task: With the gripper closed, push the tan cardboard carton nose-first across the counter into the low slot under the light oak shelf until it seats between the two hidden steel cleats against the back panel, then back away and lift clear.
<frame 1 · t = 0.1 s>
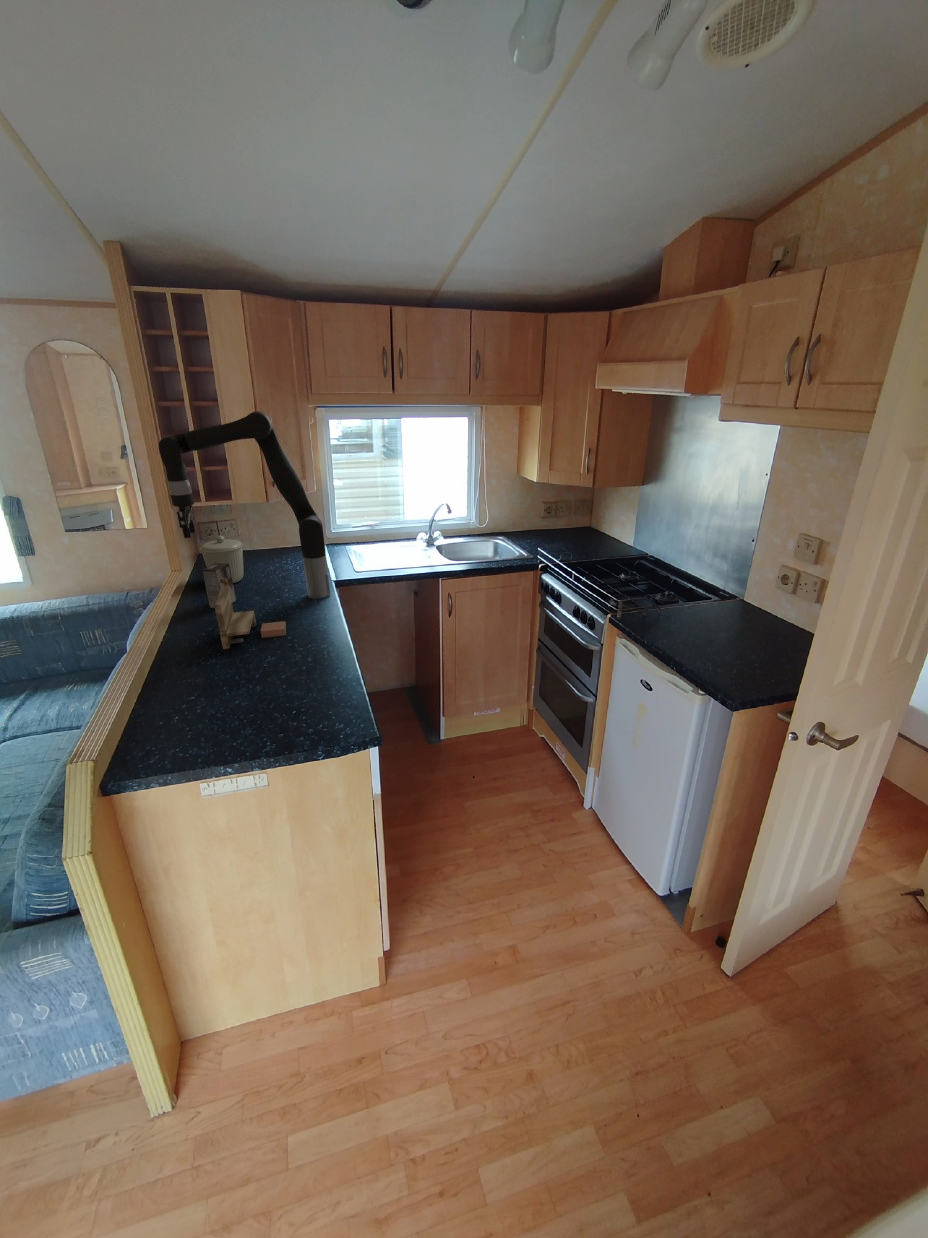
hand: (190, 535, 213), 29 cm above the worktop, fingers open, 8 cm apart
coffee box: (223, 604, 226), on the worktop
tan cardboard carton: (274, 632, 200), on the worktop
nook: (247, 635, 198), on the worktop
canister: (228, 581, 253), on the worktop
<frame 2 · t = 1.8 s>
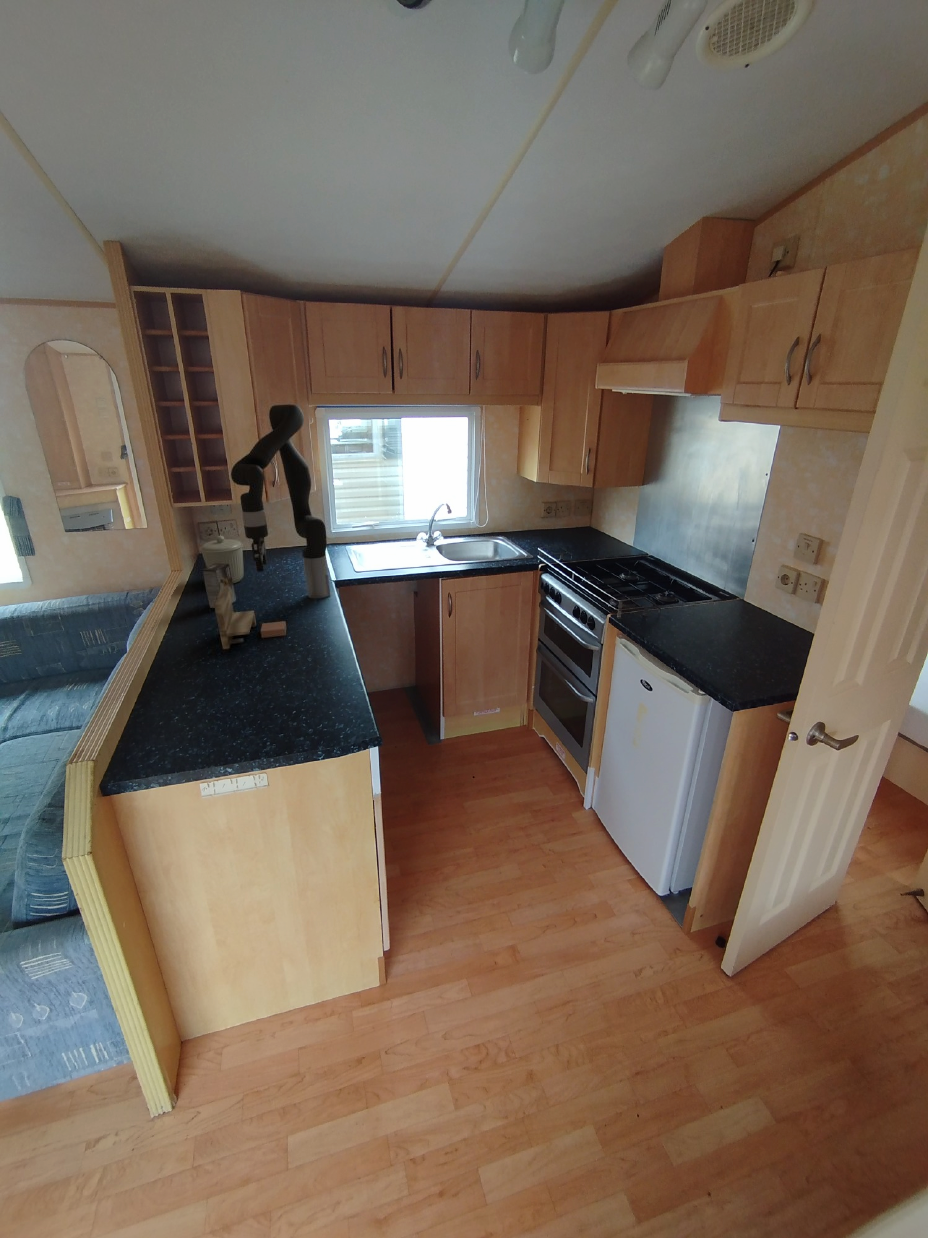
hand: (262, 567, 200), 21 cm above the worktop, fingers open, 8 cm apart
nothing on the worktop moved.
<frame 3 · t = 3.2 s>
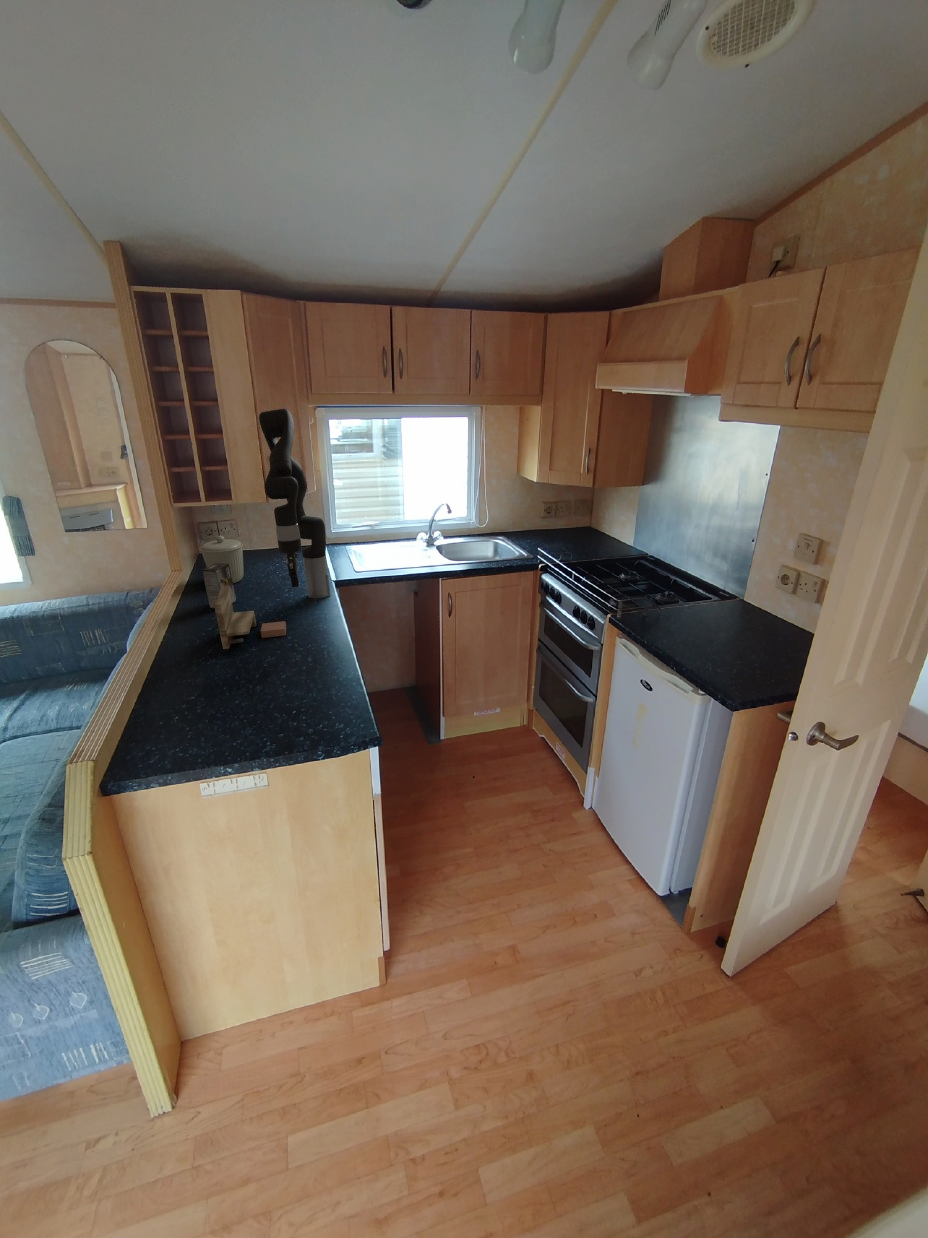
hand: (295, 585, 195), 17 cm above the worktop, fingers closed
nothing on the worktop moved.
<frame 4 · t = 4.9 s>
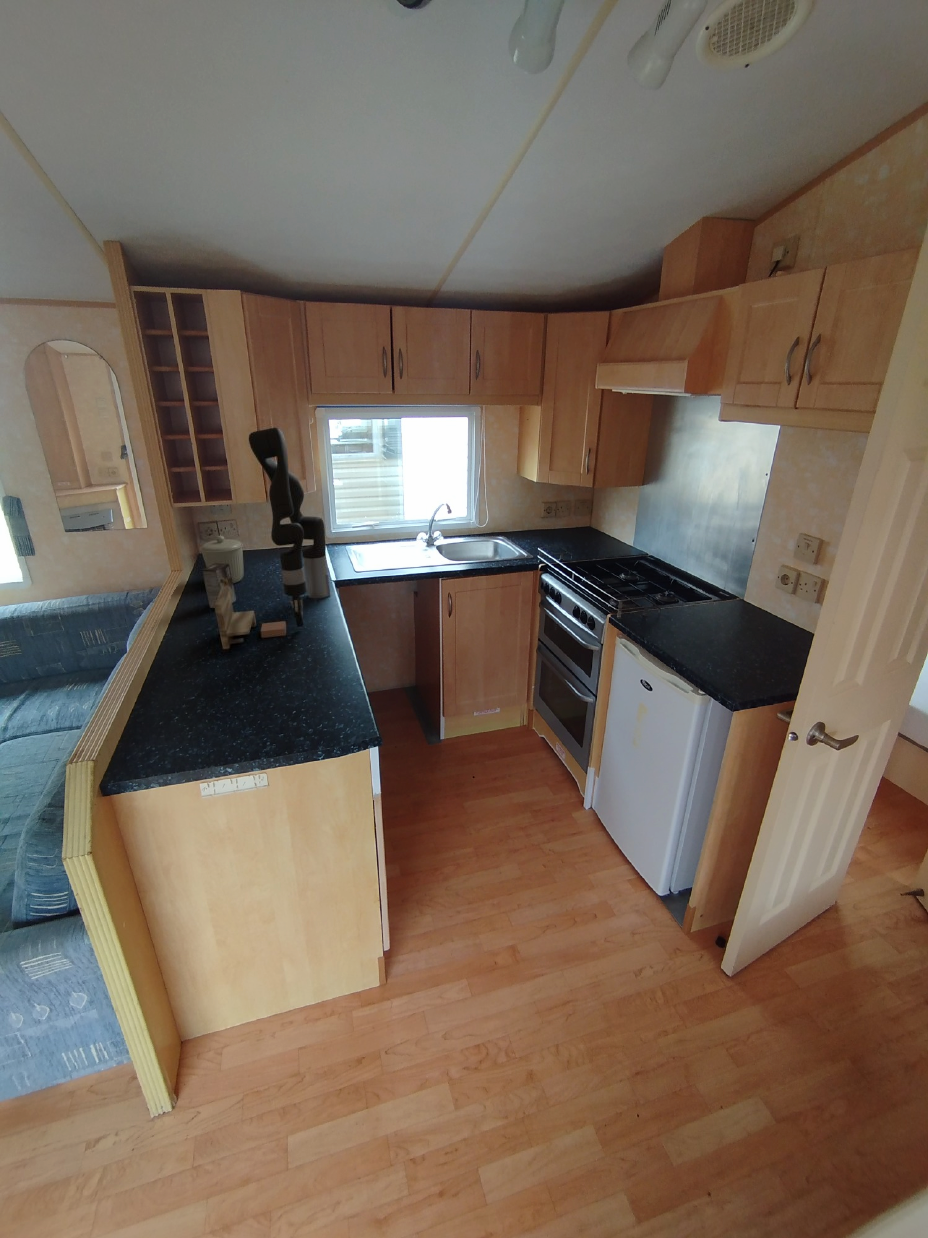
hand: (300, 625, 201), 2 cm above the worktop, fingers closed
nothing on the worktop moved.
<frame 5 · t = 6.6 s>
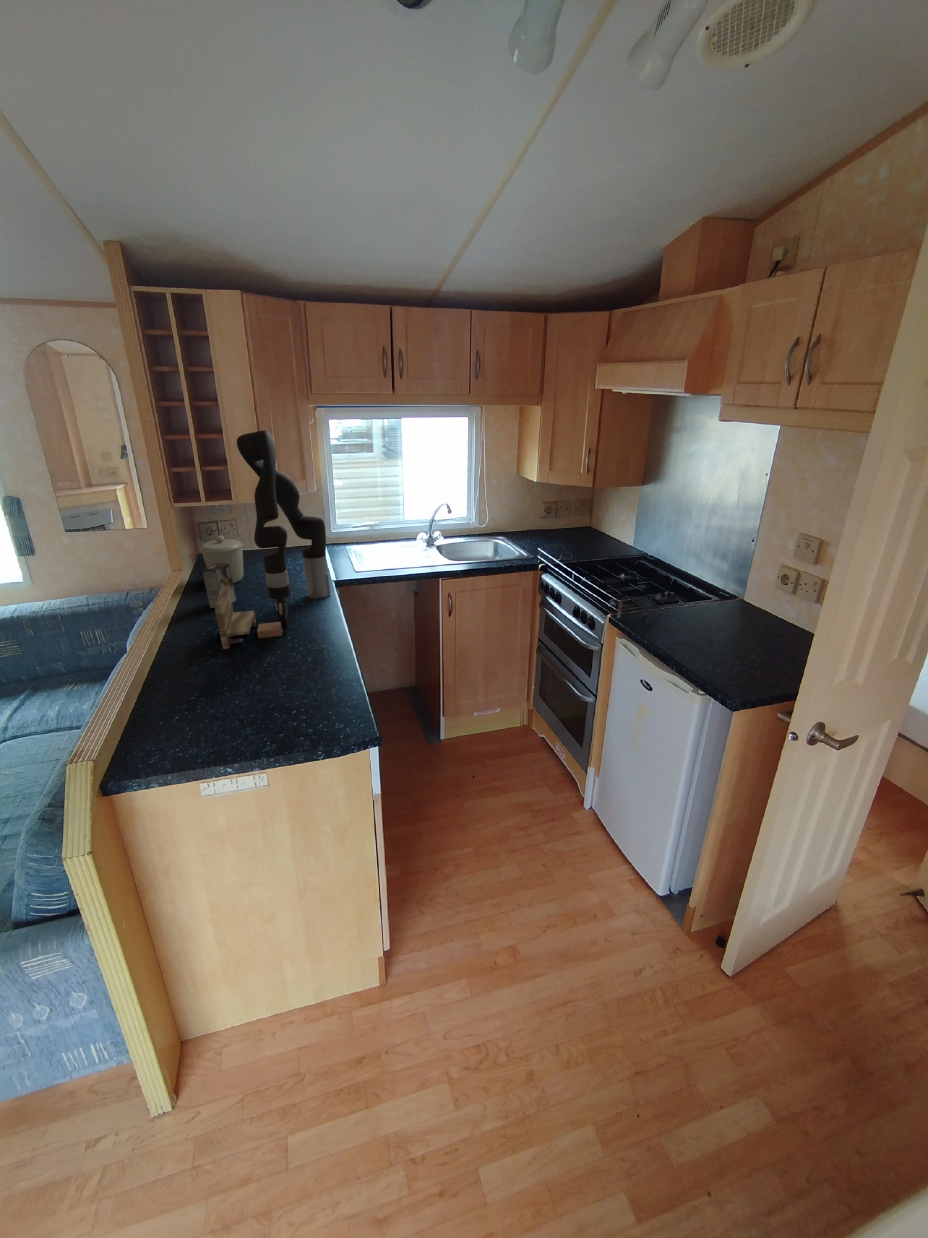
hand: (285, 628, 200), 1 cm above the worktop, fingers closed
tan cardboard carton: (270, 632, 199), on the worktop, touching gripper
everything else where it was.
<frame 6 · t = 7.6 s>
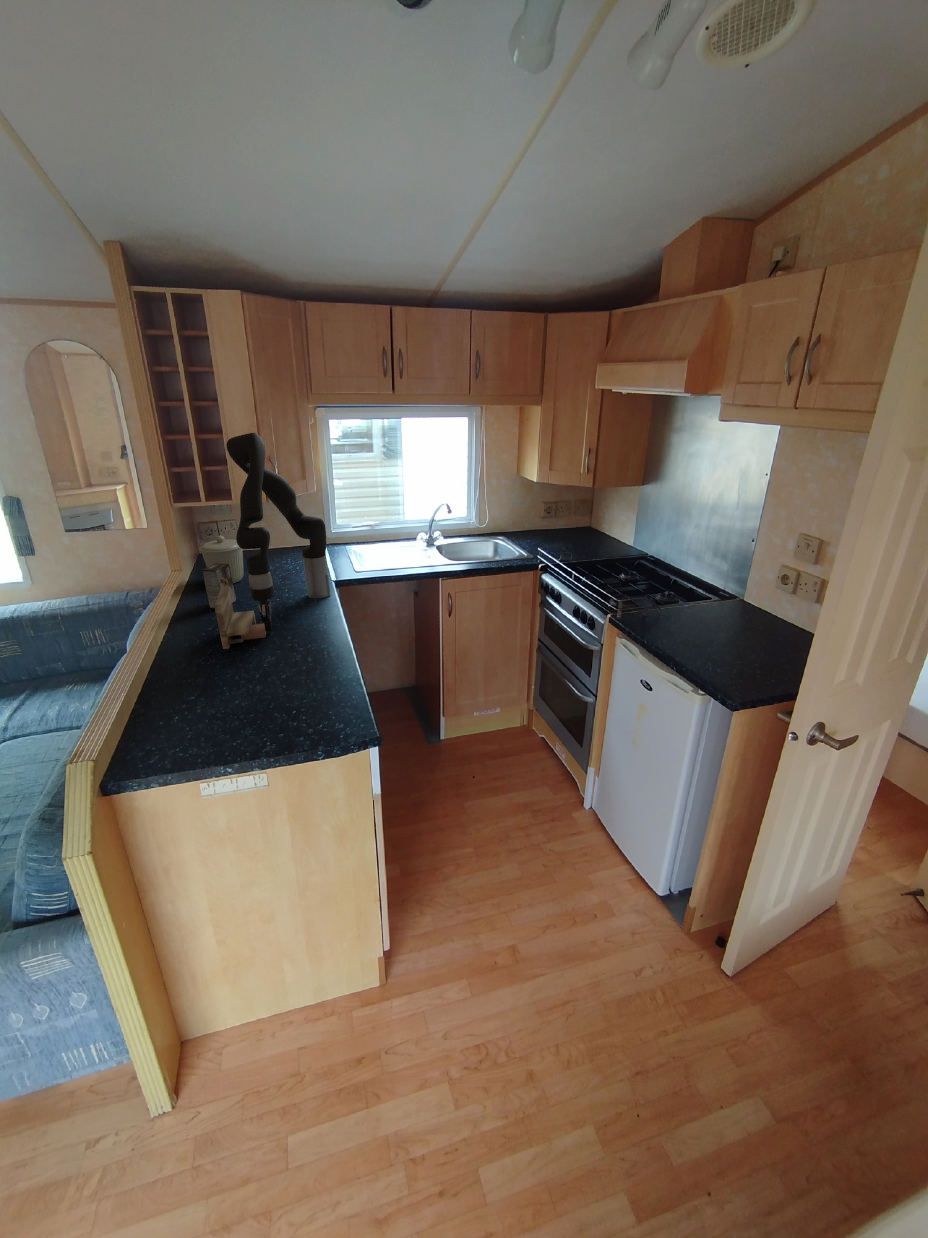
hand: (268, 630, 199), 1 cm above the worktop, fingers closed
tan cardboard carton: (254, 634, 198), on the worktop, touching gripper
everything else where it was.
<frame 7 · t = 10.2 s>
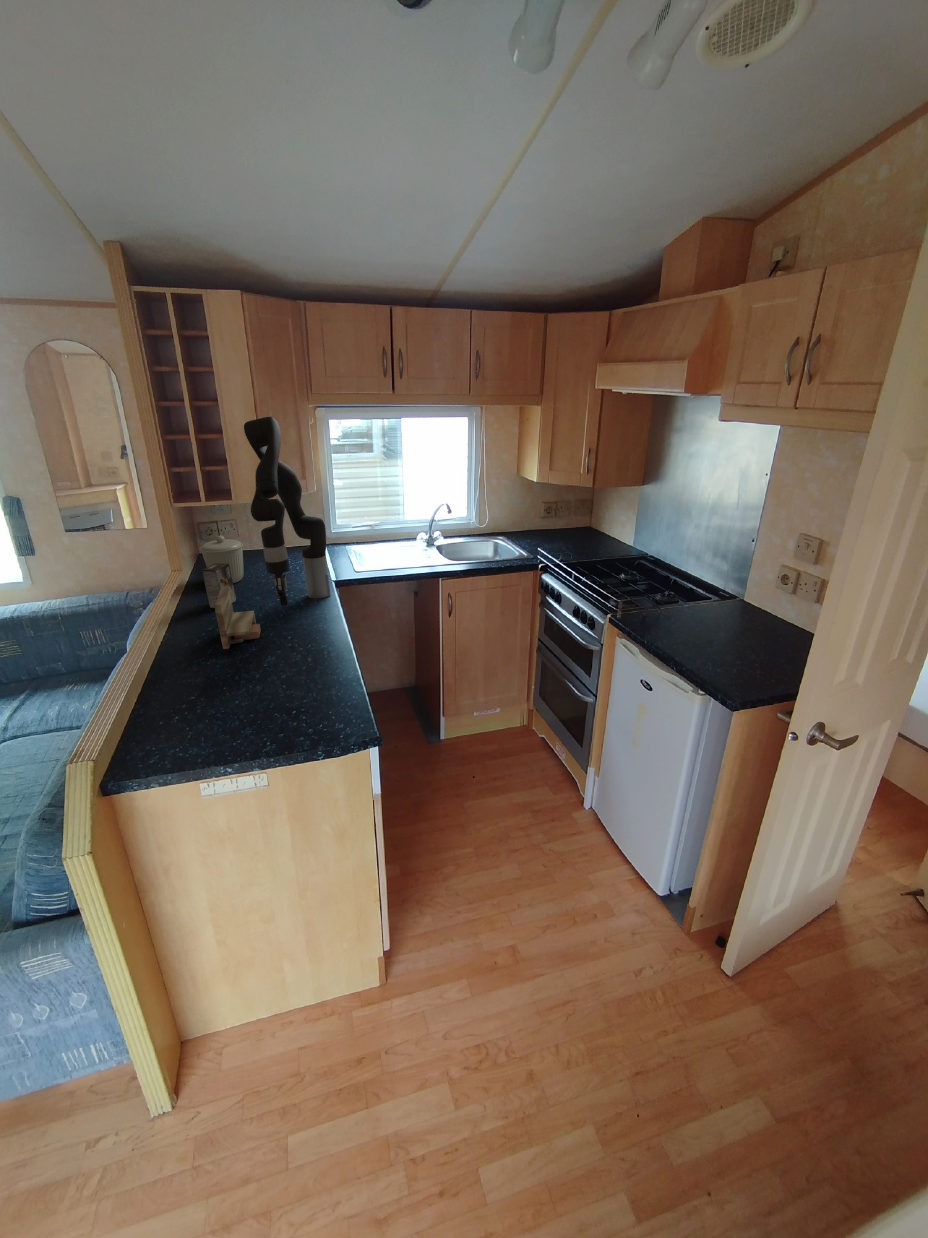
hand: (284, 604, 197), 10 cm above the worktop, fingers closed
tan cardboard carton: (248, 635, 198), on the worktop
everything else where it was.
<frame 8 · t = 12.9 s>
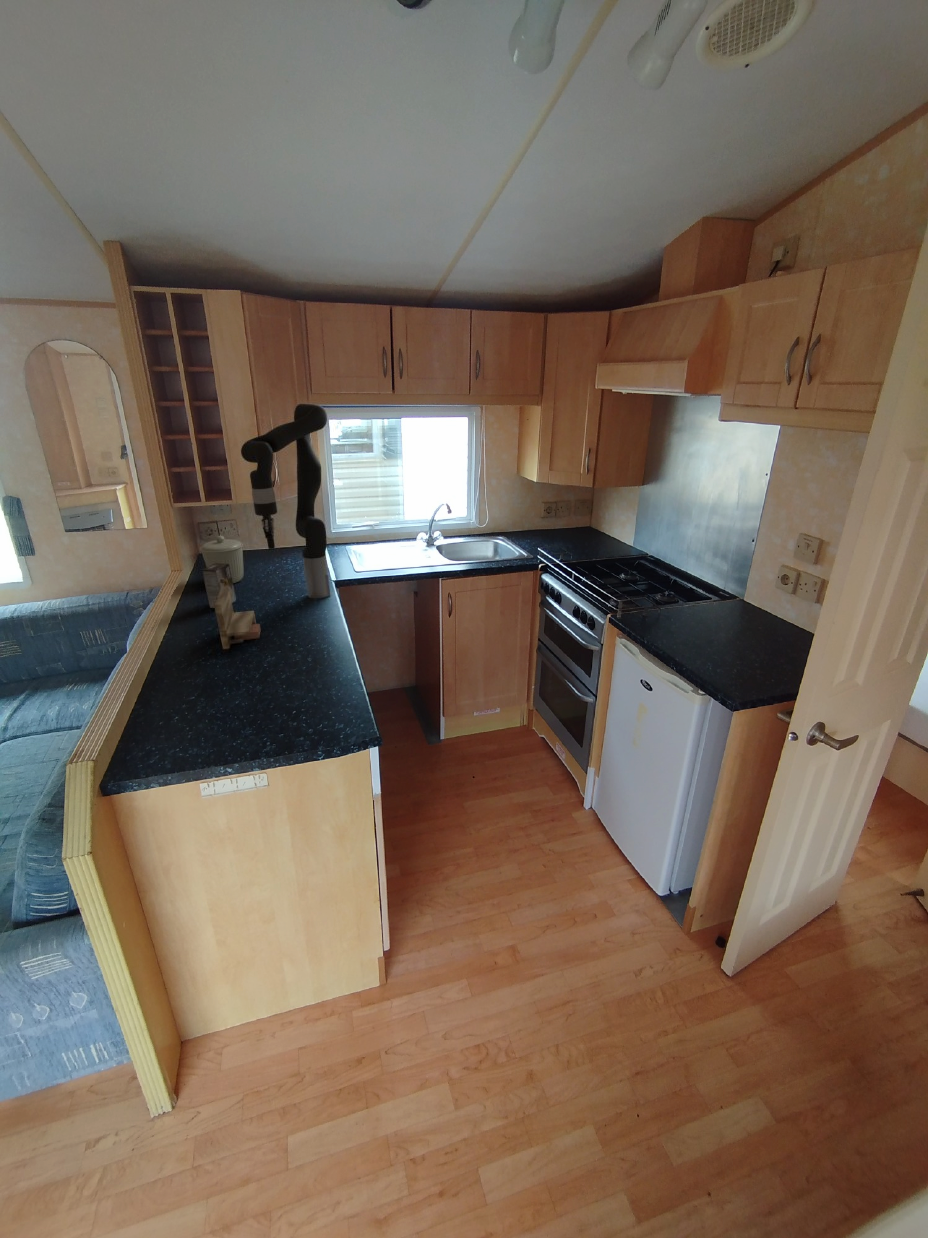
hand: (271, 548, 203), 27 cm above the worktop, fingers closed
nothing on the worktop moved.
at the end: tan cardboard carton 0.8 cm off-centre on the nook, point 0.0 cm above the nook's base; tan cardboard carton tilted 0°; tan cardboard carton moved 8.9 cm from its start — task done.
